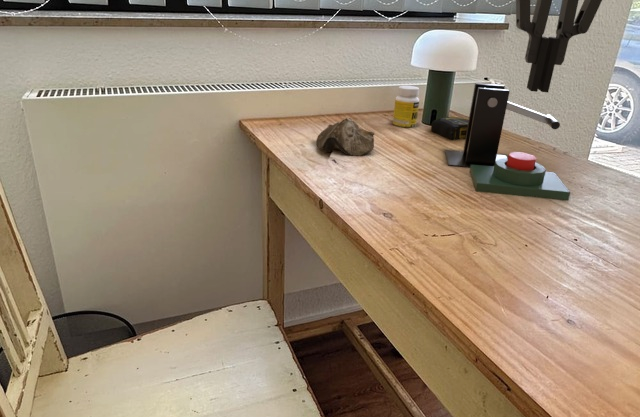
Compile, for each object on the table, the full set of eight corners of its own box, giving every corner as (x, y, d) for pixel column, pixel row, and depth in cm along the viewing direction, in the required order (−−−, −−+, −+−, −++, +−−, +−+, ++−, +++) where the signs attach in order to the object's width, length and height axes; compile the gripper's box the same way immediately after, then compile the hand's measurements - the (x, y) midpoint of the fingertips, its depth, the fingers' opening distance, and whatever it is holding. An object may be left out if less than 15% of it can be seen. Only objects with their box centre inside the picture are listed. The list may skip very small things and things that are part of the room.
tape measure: (428, 135, 96) (430, 116, 94) (457, 133, 98) (460, 115, 97) (448, 145, 90) (451, 125, 88) (479, 143, 92) (482, 123, 91)
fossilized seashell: (386, 142, 81) (344, 137, 89) (371, 109, 77) (328, 108, 85) (360, 172, 78) (319, 165, 86) (343, 140, 75) (301, 136, 82)
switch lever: (546, 126, 78) (554, 112, 77) (555, 134, 73) (563, 119, 72) (475, 99, 78) (482, 85, 77) (479, 106, 73) (486, 91, 72)
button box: (551, 186, 73) (557, 160, 71) (566, 207, 66) (574, 179, 64) (468, 178, 74) (472, 152, 73) (474, 197, 67) (479, 170, 66)
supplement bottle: (413, 133, 96) (419, 90, 93) (389, 130, 98) (394, 87, 94) (417, 128, 101) (422, 86, 97) (394, 125, 102) (399, 84, 98)
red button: (530, 165, 70) (532, 153, 69) (536, 173, 67) (539, 161, 66) (504, 162, 70) (506, 150, 70) (508, 170, 67) (511, 158, 66)
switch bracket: (504, 162, 82) (520, 84, 77) (513, 178, 75) (532, 94, 70) (443, 156, 84) (455, 80, 79) (447, 171, 77) (460, 88, 71)
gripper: (637, -117, 57) (583, 88, 67) (514, -119, 59) (479, 81, 68) (667, -132, 50) (602, 99, 60) (528, -134, 52) (487, 91, 62)
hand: (537, 89), depth 64 cm, fingers closed
